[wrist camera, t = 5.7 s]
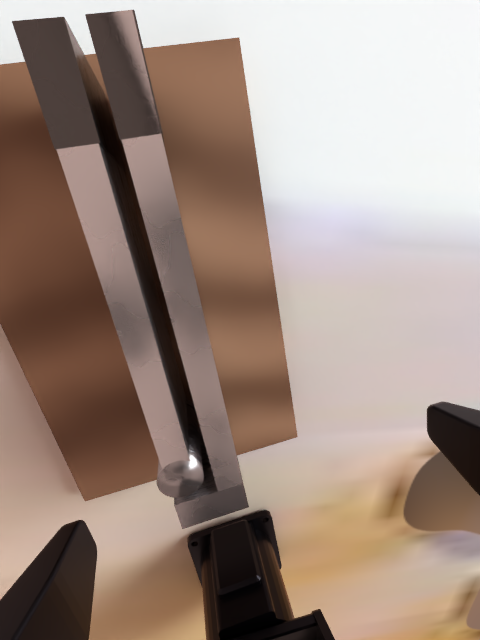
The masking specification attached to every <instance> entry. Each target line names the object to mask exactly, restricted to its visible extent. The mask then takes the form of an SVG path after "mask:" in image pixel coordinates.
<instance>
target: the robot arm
mask: <svg viewBox="0 0 480 640" xmlns="http://www.w3.org/2000/svg"><path fill="white" fill-rule="evenodd" d="M427 432H428V435H429V437H430V439H431V440H432V441H433V443H434V444H435V445H436V446H437V447H438V448H439V450H440V451H441V452H442V453H443V454H444V455H445V457H446V458H447V459H448V460H449V461H450V462H451V464H452V465H453V466H454V467H455V468H456V469H457V471H458V472H459V473H460V474H461V475H462V476H463V477H464V479H465V480H466V481H467V482H468V483H469V485H470V486H471V487H472V488H473V489H474V490H475V491H476V492H477V493H478V494H479V495H480V411H479V410H475V409H471V408H467V407H463V406H459V405H455V404H451V403H447V402H439V403H436V404H432V405H430V406H428V408H427ZM188 548H189V550H190V553H191V556H192V559H193V562H194V565H195V568H196V571H197V574H198V577H199V579H200V582H201V585H202V588H203V602H204V615H205V629H206V640H335V639H334V637H333V635H332V633H331V631H330V628H329V626H328V624H327V622H326V620H325V618H324V616H323V614H322V612H321V610H320V609H318V610H315V611H312V613H311V614H308V615H305V616H302V617H298V618H294V615H293V612H292V608H291V605H290V602H289V599H288V595H287V592H286V589H285V585H284V582H283V579H282V575H281V572H280V569H281V561H280V556H279V551H278V546H277V541H276V536H275V531H274V526H273V521H272V517H271V514H270V512H269V511H267V510H264V511H261V512H258V513H255V514H252V515H249V516H246V517H243V518H240V519H237V520H234V521H231V522H228V523H225V524H222V525H219V526H216V527H213V528H210V529H207V530H204V531H201V532H198V533H195V534H192V535H190V536H189V537H188ZM96 561H97V547H96V544H95V541H94V539H93V537H92V535H91V533H90V531H89V529H88V527H87V525H86V523H85V522H84V521H83V520H78V521H75V522H72V523H69V524H66V525H64V526H63V527H61V528H60V530H59V531H58V532H57V533H56V534H55V535H54V537H53V538H52V539H51V540H50V541H49V543H48V544H47V545H46V546H45V547H44V549H43V550H42V551H41V552H40V553H39V555H38V556H37V557H36V558H35V559H34V560H33V562H32V563H31V564H30V565H29V566H28V568H27V569H26V570H25V571H24V572H23V574H22V575H21V576H20V577H19V578H18V580H17V581H16V582H15V583H14V584H13V586H12V587H11V588H10V589H9V590H8V591H7V593H6V594H5V595H4V596H3V597H2V599H1V600H0V640H88V639H89V630H90V622H91V612H92V601H93V591H94V581H95V571H96Z"/></svg>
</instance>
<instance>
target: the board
mask: <svg viewBox="0 0 480 640" xmlns="http://www.w3.org/2000/svg"><path fill="white" fill-rule="evenodd" d="M143 50H144V54H145V59H146V63H147V67H148V72H149V76H150V80H151V85H152V89H153V93H154V97H155V102H156V106H157V110H158V115H159V119H160V123H161V128H162V132H163V138H164V145H165V152H166V156H167V160H168V165H169V169H170V173H171V177H172V182H173V186H174V190H175V195H176V199H177V203H178V207H179V212H180V216H181V220H182V224H183V229H184V233H185V237H186V241H187V246H188V250H189V254H190V259H191V263H192V267H193V271H194V276H195V280H196V284H197V288H198V293H199V297H200V301H201V305H202V310H203V314H204V318H205V323H206V327H207V331H208V335H209V340H210V344H211V348H212V352H213V357H214V361H215V365H216V370H217V374H218V378H219V382H220V387H221V391H222V395H223V399H224V404H225V408H226V412H227V416H228V421H229V425H230V429H231V434H232V438H233V442H234V446H235V451H236V455H239V454H243V453H246V452H249V451H253V450H256V449H259V448H263V447H266V446H269V445H272V444H276V443H279V442H282V441H286V440H289V439H292V438H296V437H297V431H296V424H295V417H294V410H293V403H292V396H291V390H290V383H289V376H288V369H287V362H286V355H285V348H284V342H283V335H282V328H281V321H280V314H279V307H278V301H277V294H276V287H275V280H274V273H273V266H272V260H271V253H270V246H269V239H268V232H267V225H266V218H265V212H264V205H263V198H262V191H261V184H260V177H259V171H258V164H257V157H256V150H255V143H254V136H253V130H252V123H251V116H250V109H249V102H248V95H247V88H246V82H245V75H244V68H243V61H242V54H241V47H240V41H239V38H232V39H223V40H214V41H205V42H196V43H187V44H179V45H170V46H161V47H152V48H143ZM85 57H86V59H87V61H88V63H89V65H90V66H91V68H92V70H93V72H94V74H95V76H96V78H97V80H98V81H99V83H100V85H101V87H102V89H103V91H104V93H105V95H106V99H107V103H108V106H109V110H110V114H111V118H112V121H113V125H114V129H115V133H116V136H117V140H118V144H119V147H120V151H121V155H122V159H123V162H124V166H125V170H126V171H125V174H126V178H127V181H128V185H129V189H130V193H131V196H132V200H133V204H134V207H135V211H136V215H137V218H138V222H139V226H140V230H141V233H142V237H143V241H144V244H145V248H146V252H147V255H148V259H149V263H150V267H151V270H152V274H153V278H154V281H155V285H156V289H157V292H158V296H159V300H160V304H161V307H162V311H163V315H164V318H165V322H166V326H167V329H168V333H169V337H170V341H171V344H172V348H173V352H174V355H175V359H176V363H177V366H178V370H179V374H180V378H181V381H182V385H183V389H184V392H185V396H186V399H188V400H190V401H191V402H192V403H193V404H194V402H193V399H192V395H191V391H190V388H189V384H188V381H187V377H186V373H185V370H184V366H183V362H182V359H181V355H180V351H179V348H178V344H177V340H176V337H175V333H174V329H173V326H172V322H171V318H170V315H169V311H168V308H167V304H166V300H165V297H164V293H163V289H162V286H161V282H160V278H159V275H158V271H157V267H156V264H155V260H154V256H153V253H152V249H151V245H150V242H149V238H148V235H147V231H146V227H145V224H144V220H143V216H142V213H141V209H140V205H139V202H138V198H137V194H136V191H135V187H134V183H133V180H132V176H131V172H130V169H129V165H128V162H127V158H126V154H125V151H124V147H123V144H122V143H121V141H120V139H119V135H118V131H117V128H116V124H115V121H114V117H113V113H112V110H111V106H110V102H109V99H108V95H107V92H106V88H105V84H104V81H103V77H102V73H101V70H100V66H99V63H98V59H97V55H96V54H90V55H85ZM0 323H1V326H2V328H3V330H4V332H5V334H6V336H7V338H8V340H9V342H10V345H11V347H12V349H13V351H14V353H15V355H16V357H17V359H18V361H19V363H20V366H21V368H22V370H23V372H24V374H25V376H26V378H27V380H28V382H29V385H30V387H31V389H32V391H33V393H34V395H35V397H36V399H37V401H38V403H39V406H40V408H41V410H42V412H43V414H44V416H45V418H46V420H47V422H48V425H49V427H50V429H51V431H52V433H53V435H54V437H55V439H56V441H57V443H58V446H59V448H60V450H61V452H62V454H63V456H64V458H65V460H66V462H67V465H68V467H69V469H70V471H71V473H72V475H73V477H74V479H75V481H76V483H77V486H78V488H79V490H80V492H81V494H82V496H83V498H84V500H85V501H88V500H91V499H94V498H98V497H101V496H104V495H108V494H111V493H114V492H117V491H121V490H124V489H127V488H131V487H134V486H137V485H141V484H144V483H147V482H150V481H154V480H157V473H158V459H159V458H158V455H157V452H156V449H155V446H154V443H153V440H152V437H151V434H150V431H149V428H148V425H147V422H146V419H145V416H144V413H143V410H142V407H141V404H140V401H139V398H138V395H137V392H136V388H135V385H134V382H133V379H132V376H131V373H130V370H129V367H128V364H127V361H126V358H125V355H124V352H123V349H122V346H121V343H120V340H119V337H118V334H117V331H116V328H115V325H114V322H113V319H112V316H111V313H110V310H109V307H108V304H107V301H106V298H105V295H104V292H103V289H102V286H101V283H100V280H99V277H98V274H97V271H96V268H95V265H94V261H93V258H92V255H91V252H90V249H89V246H88V243H87V240H86V237H85V234H84V231H83V228H82V225H81V222H80V219H79V216H78V213H77V210H76V207H75V204H74V201H73V198H72V195H71V192H70V189H69V186H68V183H67V180H66V177H65V174H64V171H63V168H62V165H61V162H60V159H59V156H58V153H57V151H56V150H55V149H54V146H53V143H52V140H51V137H50V134H49V131H48V128H47V125H46V122H45V119H44V116H43V113H42V110H41V107H40V104H39V101H38V98H37V95H36V92H35V89H34V86H33V83H32V80H31V77H30V74H29V71H28V68H27V65H26V62H19V63H11V64H2V65H0ZM197 421H198V417H197ZM199 426H200V424H199V421H198V427H199Z"/></svg>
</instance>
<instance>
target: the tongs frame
mask: <svg viewBox="0 0 480 640" xmlns="http://www.w3.org/2000/svg"><path fill="white" fill-rule="evenodd" d="M86 19H87V23H88V26H89V30H90V34H91V37H92V41H93V44H94V48H95V52H96V55H97V59H98V63H99V66H100V70H101V73H102V77H103V81H104V84H105V88H106V92H107V95H108V99H109V102H110V106H111V110H112V113H113V117H114V121H115V124H116V128H117V131H118V135H119V139H120V141H121V143H122V144H123V147H124V151H125V154H126V158H127V162H128V165H129V169H130V172H131V176H132V180H133V183H134V187H135V191H136V194H137V198H138V202H139V205H140V209H141V213H142V216H143V220H144V224H145V227H146V231H147V235H148V238H149V242H150V245H151V249H152V253H153V256H154V260H155V264H156V267H157V271H158V275H159V278H160V282H161V286H162V289H163V293H164V297H165V300H166V304H167V308H168V311H169V315H170V318H171V322H172V326H173V329H174V333H175V337H176V340H177V344H178V348H179V351H180V355H181V359H182V362H183V366H184V370H185V373H186V377H187V381H188V384H189V388H190V391H191V395H192V399H193V402H194V406H195V410H196V413H197V417H198V421H199V424H200V426H199V427H198V430H199V439H200V448H201V457H202V465H203V474H204V478H203V482H202V484H201V486H200V487H199V489H198V490H196V491H195V492H194V493H192V494H190V495H188V496H185V497H180V498H174V506H175V508H176V511H177V514H178V517H179V520H180V523H181V526H182V529H184V528H187V527H190V526H193V525H196V524H199V523H202V522H205V521H208V520H211V519H214V518H217V517H220V516H223V515H226V514H229V513H232V512H235V511H238V510H242V509H245V508H248V507H249V506H248V502H247V498H246V493H245V489H244V485H243V480H242V476H241V472H240V468H239V463H238V459H237V455H236V451H235V446H234V442H233V438H232V434H231V429H230V425H229V421H228V416H227V412H226V408H225V404H224V399H223V395H222V391H221V387H220V382H219V378H218V374H217V370H216V365H215V361H214V357H213V352H212V348H211V344H210V340H209V335H208V331H207V327H206V323H205V318H204V314H203V310H202V305H201V301H200V297H199V293H198V288H197V284H196V280H195V276H194V271H193V267H192V263H191V259H190V254H189V250H188V246H187V241H186V237H185V233H184V229H183V224H182V220H181V216H180V212H179V207H178V203H177V199H176V195H175V190H174V186H173V182H172V177H171V173H170V169H169V165H168V160H167V156H166V152H165V145H164V138H163V132H162V128H161V123H160V119H159V115H158V110H157V106H156V102H155V97H154V93H153V89H152V85H151V80H150V76H149V72H148V67H147V63H146V59H145V54H144V50H143V46H142V42H141V37H140V33H139V29H138V24H137V20H136V16H135V11H134V10H127V11H117V12H107V13H96V14H86Z"/></svg>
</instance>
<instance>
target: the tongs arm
mask: <svg viewBox="0 0 480 640" xmlns="http://www.w3.org/2000/svg"><path fill="white" fill-rule="evenodd" d="M12 23H13V26H14V29H15V32H16V35H17V38H18V41H19V44H20V47H21V50H22V53H23V56H24V59H25V62H26V65H27V68H28V71H29V74H30V77H31V80H32V83H33V86H34V89H35V92H36V95H37V98H38V101H39V104H40V107H41V110H42V113H43V116H44V119H45V122H46V125H47V128H48V131H49V134H50V137H51V140H52V143H53V146H54V149H55V150H56V151H57V153H58V156H59V159H60V162H61V165H62V168H63V171H64V174H65V177H66V180H67V183H68V186H69V189H70V192H71V195H72V198H73V201H74V204H75V207H76V210H77V213H78V216H79V219H80V222H81V225H82V228H83V231H84V234H85V237H86V240H87V243H88V246H89V249H90V252H91V255H92V258H93V261H94V265H95V268H96V271H97V274H98V277H99V280H100V283H101V286H102V289H103V292H104V295H105V298H106V301H107V304H108V307H109V310H110V313H111V316H112V319H113V322H114V325H115V328H116V331H117V334H118V337H119V340H120V343H121V346H122V349H123V352H124V355H125V358H126V361H127V364H128V367H129V370H130V373H131V376H132V379H133V382H134V385H135V388H136V392H137V395H138V398H139V401H140V404H141V407H142V410H143V413H144V416H145V419H146V422H147V425H148V428H149V431H150V434H151V437H152V440H153V443H154V446H155V449H156V452H157V455H158V458H159V459H158V473H157V486H158V488H159V490H160V491H161V492H162V493H163V494H165V495H167V496H169V497H174V498H180V497H185V496H188V495H190V494H192V493H194V492H195V491H196V490H198V489H199V487H200V486H201V484H202V482H203V478H204V474H203V465H202V457H201V448H200V439H199V430H198V421H197V413H196V410H195V406H194V404H193V403H192V402H191V401H190V400H188V399H186V396H185V392H184V389H183V385H182V381H181V378H180V374H179V370H178V366H177V363H176V359H175V355H174V352H173V348H172V344H171V341H170V337H169V333H168V329H167V326H166V322H165V318H164V315H163V311H162V307H161V304H160V300H159V296H158V292H157V289H156V285H155V281H154V278H153V274H152V270H151V267H150V263H149V259H148V255H147V252H146V248H145V244H144V241H143V237H142V233H141V230H140V226H139V222H138V218H137V215H136V211H135V207H134V204H133V200H132V196H131V193H130V189H129V185H128V181H127V178H126V174H125V171H126V170H125V166H124V162H123V159H122V155H121V151H120V147H119V144H118V140H117V136H116V133H115V129H114V125H113V121H112V118H111V114H110V110H109V106H108V103H107V99H106V95H105V93H104V91H103V89H102V87H101V85H100V83H99V81H98V80H97V78H96V76H95V74H94V72H93V70H92V68H91V66H90V65H89V63H88V61H87V59H86V57H85V55H84V53H83V51H82V50H81V48H80V46H79V44H78V42H77V40H76V38H75V36H74V35H73V33H72V31H71V29H70V27H69V25H68V23H67V21H66V20H65V18H64V17H57V18H45V19H33V20H21V21H12Z"/></svg>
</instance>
